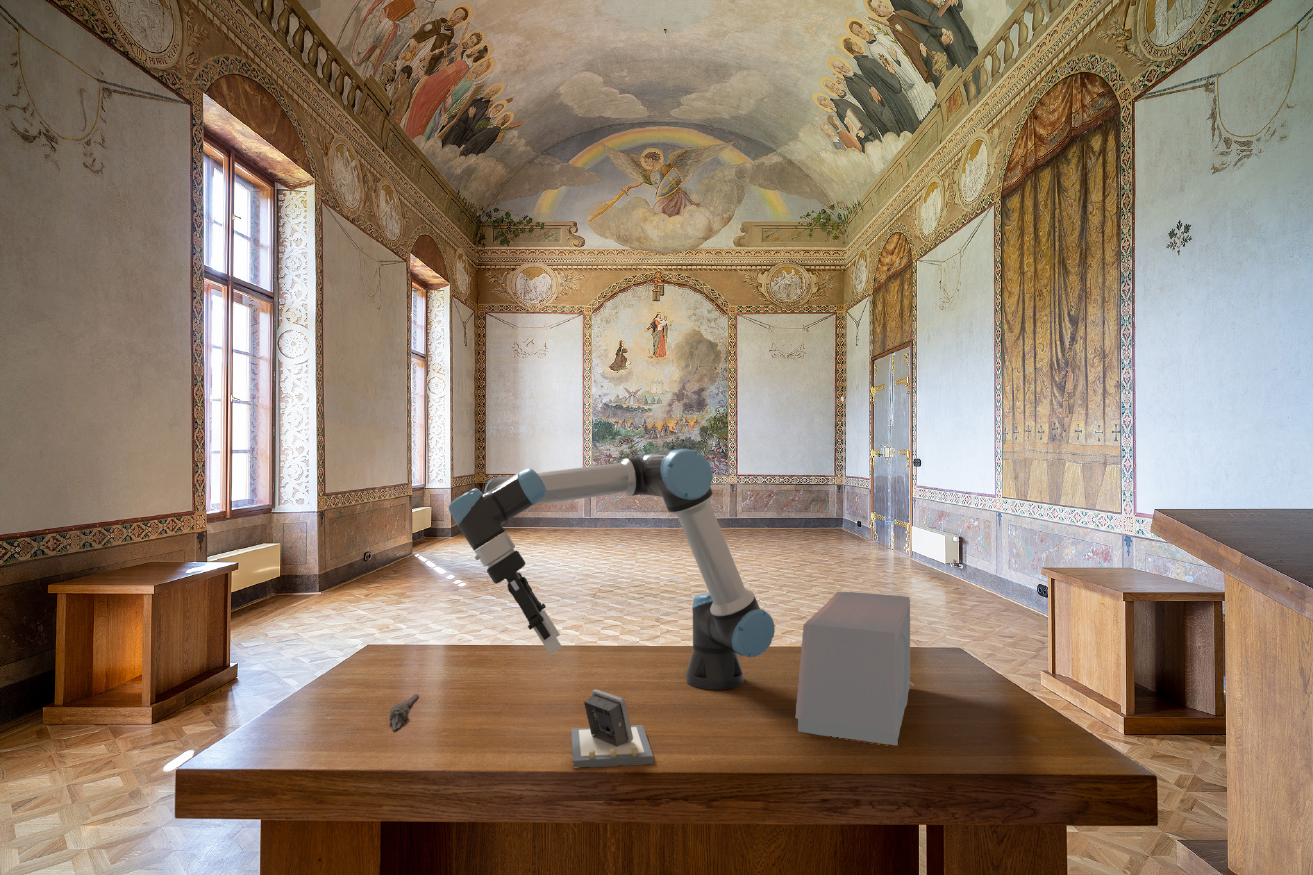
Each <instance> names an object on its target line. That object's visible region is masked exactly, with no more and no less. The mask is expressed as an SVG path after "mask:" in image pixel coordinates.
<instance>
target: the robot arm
mask: <svg viewBox="0 0 1313 875" xmlns="http://www.w3.org/2000/svg"><path fill="white" fill-rule="evenodd" d="M713 474H714V473H713V470H712V467H711V464H710V462H709V460H708V459H707V458H706V457H705V456H704V455H703V454H702V453H701V452H699V451H696V450H693V449H688V448H683V447H682V448H676V449H670V450H669V449H667V450H657V451H654V452H650V453H646V454H643V455H639V456H634V457H629V458H628V457H626V458H623V459H621V461H620V462H618V463H617V462H616V463H608V464H601V465H591V466H590V465H589V466H584V467H582V466H581V467H574V468H565V469H558V470H557V469H556V470H549V471H548V470H547V471H541V472H539V471H538V472H536V471H535V470H534V469H532V468H531V467H528V468H525V469H524V470H521V471H518V472H517V473H516V474H514V475H506V476H504V475H499V476H496V477H494V478H492V479H490V480H489V481H488V482H487V484H486V485H485V487H484V492H482V491H480V488H479V489H478V488H476V487H475V488H473V489H470V490H468V491H467V492H465V493H464V494H461V495H460V496H458V497H457V498H455V499H453V501H452V502H450V503H449V506H448V511H449V513H450V515H451V517H452V519H453V520H454V522H455V523H456V526H457V528H458V529H459V530H460V532H461V534H462V535H463V537H464V538H465V539H466V541H467V543H468V544H469V545H470V547H471V549H472V550H473V551H474V553H475V554H476V555H475V556H474V559H475V561H477V560H480V562H481V564H482V566H483V567H487V568H486V573H487V574H488V576H489V578H490V579H491V580H492V582H493V583H494V584H496V585H497V584H499V583H501V582H503V581H505V580H506V581H507V583H508V584H506V586H507V590H508V592H509V593H510V594H511V595H512V597H513V599H514V601H515V602H516V603H517V604H518V606H519V607H520V609H521V611H522V613H523V615H524V617H525V618H526V621H527V622H528V625H527V628H528V629H529V630H532V629H533V630H534V632H535V634H536V635H537V637H538V639H540V641H541V642H542V644H543V646H544V647H545V649H546V651H547V652H548V654H549V655H550V656H552V655H553V654H555V653H556V652H558V651H560V650H561V649H562V648H563V646H562V645H561V643H560V641H559V640H558V637H560V635H561V634H560V632H559V631H558V629H557V628H556V626H555V624H554V623H553V621H552V620H551V618H550V617H549V614H548V613H547V612H546V610H545V608H547V606H546V604H545V602H544V603H542V602H540V600H539V599H538V598H537V596H536V594H534V592H533V590H532V587H531V585H530V584H529V582H528V579H527V578H526V576H523V575H522V573H521V572H518V571H520V570H521V569H522V568H524V567H525V565H526V561H525V559H524V558H523V556H522V555H521V553H520V551H519V550H515V549H516V545H515V543H514V541H513V540H512V538H511V537H510V536H509V534H508V533H507V531H506V530H505V528H504V526H503V524H504V523H507V522H508V521H509V520H511V519H513V518H514V517H516V516H517V515H519V514H521V513H523V512H524V511H526V510H527V509H529V508H531V507H532V506H536V505H544V504H545V505H546V504H550V503H558V502H559V503H560V502H565V501H566V502H567V501H572V500H573V501H574V500H580V499H582V500H583V499H588V498H589V499H590V498H596V497H597V498H598V497H603V496H610V495H611V496H612V495H617V494H619V495H620V494H624V495H626V496H628V497H631V496H632V497H633V496H634V497H635V496H652V497H654V496H655V497H660V498H661V497H662V499H663V502H664V504H665V507H666V509H667V511H668V513H669V514H671V515H675V516H676V517H677V519H678V521H679V523H680V526H681V528H682V531H683V534H684V535H685V538H686V540H687V543H688V545H689V547H690V550H691V552H692V555H693V557H694V560H695V562H696V565H697V566H698V569H699V572H700V573H701V576H702V578H703V581H704V583H705V585H706V589H707V591H708V593H701V594H696V595H695V596H694V597H693V598H692V599H693V600H692V608H691V610H692V653H691V655H690V656H691V657H690V658H689V662H688V666H687V669H686V671H685V672H686V673H685V674H686V675H685V676H686V677H685V682H687V684H689V685H690V686H692V687H695V688H699V689H704V690H714V691H715V690H718V691H720V690H731V689H735V688H738V687H740V686H742V685H743V684H744V672H743V669H742V665H741V662H740V659H739V656H742V657H743V656H744V657H747V658H755V657H758V656H761V655H762V654H764V653H765V652H766V651H767V650H768V649H769V647H770V646H771V644H772V642H773V638H774V637H775V631H776V630H775V627H776V626H775V622H774V619H773V617H772V616H771V614H769V613H768V611H766V610H764V609H762V608H760V606H759V603H758V601H757V600H758V599H757V598H756V596H755V593H754V592H753V591H751V590H749V589H748V588H747V589H746V588H745V585H744V582H743V580H742V578H741V575H740V573H739V570H738V568H737V565H736V563H735V560H734V558H733V555H732V554H731V553H732V552H731V551H730V548H729V546H728V543H727V541H726V539H725V537H724V534H723V531H722V529H721V526H720V524H719V521H718V519H717V517H716V514H715V512H714V510H713V507H712V505H711V501H712V499H713V496H714V492H713V490H712V481H713V476H714V475H713Z"/></svg>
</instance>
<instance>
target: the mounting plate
mask: <svg viewBox="0 0 1313 875" xmlns="http://www.w3.org/2000/svg"><path fill="white" fill-rule="evenodd" d="M630 725H631V724H630ZM570 729H571V732H570V733H571V734H570V737H571V752H572V753H571V754H572V756H571V757H572V768H574V767H591V768H603V767H604V768H605V767H619V766H618V765H624V766H638V765H653V764H654V755H653V751H652V749H651V745H650V743H649V740H648V737H647V734H646V731H645V728H644V726H643V724H637V725H636V724H634V725H631V730H632V735H633V740H632V741H631V742H630V743H628V742H626V741H625V742H623V743H621V744H620V745H619V746H618V747H616V746H614V745H612V744H609V743H607V742H604V741H602V740H600V739H597V738H595V737H592V736H593V735H591V731H590V727H577V728H576V727H575V728H570ZM610 736H611V735H609V737H608V738H611V737H610ZM614 738H615V737H614ZM612 739H613V738H612ZM574 769H575V768H574Z"/></svg>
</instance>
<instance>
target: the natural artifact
mask: <svg viewBox="0 0 1313 875" xmlns="http://www.w3.org/2000/svg"><path fill="white" fill-rule="evenodd" d="M419 697H420V695H419V694H418V693H414V694H413V695H412V696H411V697H410V698H408V699H405V700H404V701H402V702H398V703H397V704H394V705H393V706H392V707H391V708H390V712H389V713H390V714H389V715H388V719H389V724H391V725H392V730H394V731H398V730H399V728H400V727H401V725H402V724H404V723H405V720H406V719H407V718H408V716H409V712H410V711H409V709H410V708H409V707H410V706H412V704H413V703H414V702H415V701H416V700H417V699H419Z"/></svg>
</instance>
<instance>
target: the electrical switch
mask: <svg viewBox="0 0 1313 875" xmlns="http://www.w3.org/2000/svg"><path fill="white" fill-rule="evenodd" d="M583 704H584V709H585V713H586V717H587V721H588V725H589V728H590V731H591V735H593V736H592V737H595V738H597V739H600V740H602V741H604V742H607V743H609V744H612V745H614V746H616V747H618V746H619V745H620V744H621V743H623V742H625V741H626V742H628V743H630V742H631V741H632V740H633V735H632V730H631V722H630V717H629V712H628V708H627V702H626V700H625V699H624V698H623V697H620V696H618V695H614V694H611V693H609V692H605V691H604V690H602V691H601V690H599V689H597V688H594V689H593V690H591V696H589V698H588V699H586V700H585V701H583ZM609 735H611V736H610V737H611V738H608V737H609ZM614 737H615V738H614ZM612 738H613V739H612Z"/></svg>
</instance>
